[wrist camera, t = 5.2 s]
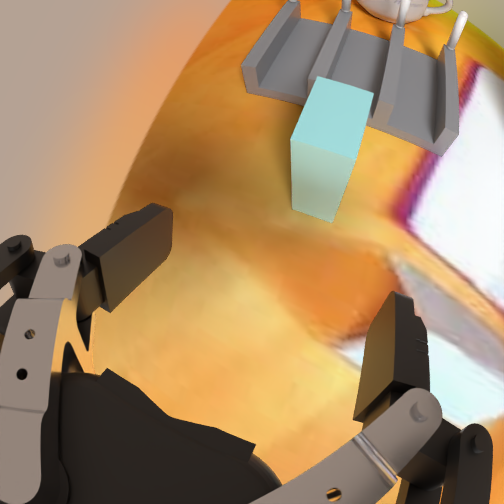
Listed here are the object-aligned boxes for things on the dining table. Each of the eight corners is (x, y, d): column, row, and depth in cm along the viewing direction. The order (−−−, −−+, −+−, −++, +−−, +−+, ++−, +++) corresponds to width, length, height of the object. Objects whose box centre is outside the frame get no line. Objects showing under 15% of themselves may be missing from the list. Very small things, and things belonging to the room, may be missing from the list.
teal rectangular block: (348, 171, 24) (373, 93, 14) (332, 223, 23) (355, 160, 14) (311, 158, 25) (317, 76, 15) (291, 209, 24) (290, 138, 14)
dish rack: (444, 70, 25) (470, 12, 16) (441, 156, 23) (489, 92, 14) (290, 23, 29) (285, -40, 20) (247, 92, 27) (229, 14, 18)
